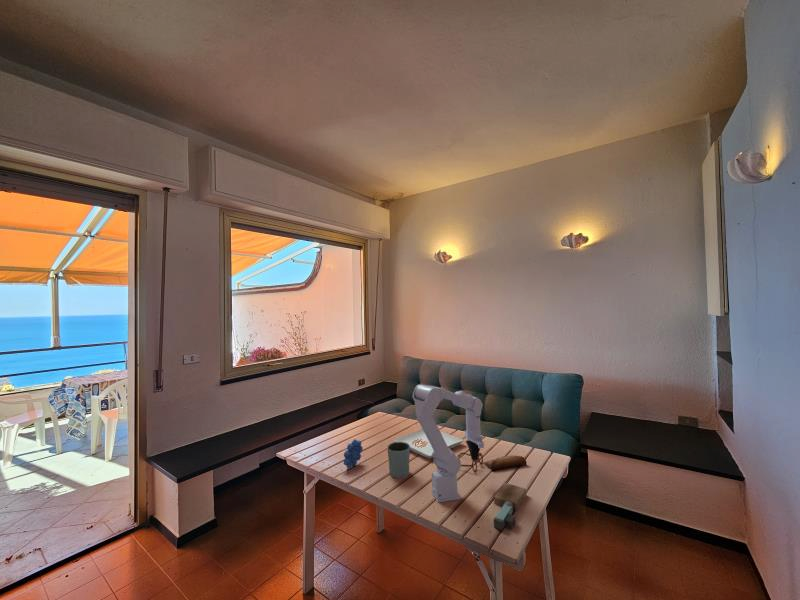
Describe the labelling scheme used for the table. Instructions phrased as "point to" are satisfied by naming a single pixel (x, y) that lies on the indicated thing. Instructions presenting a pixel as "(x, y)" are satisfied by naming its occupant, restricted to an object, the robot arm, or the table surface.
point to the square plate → (428, 449)
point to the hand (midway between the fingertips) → (474, 459)
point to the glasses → (473, 461)
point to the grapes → (352, 453)
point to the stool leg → (503, 515)
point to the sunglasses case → (505, 462)
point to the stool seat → (512, 495)
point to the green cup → (398, 459)
